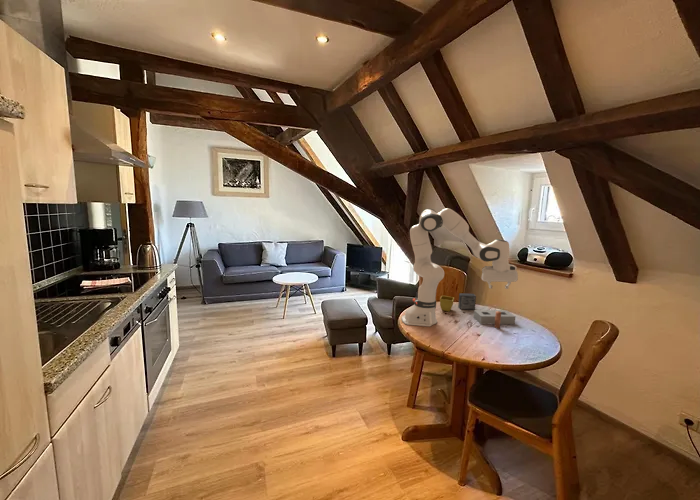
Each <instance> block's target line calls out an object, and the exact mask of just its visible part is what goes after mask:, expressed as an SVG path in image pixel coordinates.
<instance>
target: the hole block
mask: <svg viewBox="0 0 700 500" xmlns="http://www.w3.org/2000/svg"><path fill="white" fill-rule="evenodd" d="M496 311H499V312H501V320H500V325H515V324H516V316H515V315H514V314H512V313H511V312H510V311H509V310H507V309H506V310H502V309H501V310H492V309H491V310H490V309H487V310H485V309H484V310H483V309H482V310H481V309H475V310H473V318H474V320H476V321H477V323H479V324H480V325H495V315H496Z"/></svg>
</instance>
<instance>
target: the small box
mask: <svg viewBox="0 0 700 500" xmlns="http://www.w3.org/2000/svg"><path fill="white" fill-rule="evenodd" d="M458 294H459V295H458V308H459V310H466V311H474V310H476V300H477V296H476V294H475V293H461V292H460V293H458Z"/></svg>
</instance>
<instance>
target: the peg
mask: <svg viewBox="0 0 700 500" xmlns="http://www.w3.org/2000/svg"><path fill="white" fill-rule="evenodd" d="M500 320H501V312H499V311H496V315H495V324H494V328H495V329H500V328H501V324H500Z"/></svg>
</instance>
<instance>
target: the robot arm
mask: <svg viewBox="0 0 700 500" xmlns="http://www.w3.org/2000/svg"><path fill="white" fill-rule="evenodd" d="M441 227H443V228H444V229H446V231H448V233H450V234H451V235H453V236H454V237H455V238H456V239H457V238H458V239H460V240H461V241H463V243H464V244H466V245H467V247H469V249H470V251H471V253H472V255H473V256H474V257H475V258H476V259H479V260H481V261H483V262H488V263H489V262H491V265H488V266H487V265H485V266H484V267H482V269H481V278H480V279H481V280H482V281H483V282H487V284H488V288H489V289H490V290H491V289H493V287H494V286H493V285H492V282H495V283H496V282H507V284H505V285H504V289H506V290H507V289H508V290H509V289H510V288H509V287H510V286H511V284H512V282H518V280H519V272H518V267H517V266H516V265H514V264H512V263H510V261H509V256H510V243H509V242H508V241H507V240H504V239H499V238H497V239H494V240H493V241H492V242H490V243H487V244H486V243H484V242H482V241H480V240H478V239H477V238H476V237H474V236H473V234H471V232H470V226H469V224H468V223H467V221H466V220H465V219H464V218H463V216H461V215H460V214H459V213H457V212H456V211H455V210H453V209H451V208H448V207H447V208H443V209H441V211H439V212H437V211H436V210H435V209H432V208H425V209H424V210H422V211H421V213H420V215H419V217H418V221H417V224H415V225H413V226H411V227H410V229H409V238H410V242H411V246H412V250H413V253H414V263H413V267H412V269H413V271H414V272H415V274H417V276H419V277H421V278H422V282H421V284H420V285H419V286H418V289H417V290H418V291H417V299H416V298H412V302H413V303H414V304H413V305H411V306H410V307H408V308H407V309H406V310H405V314H404V315H401V322H402V324H404V325H406V326H407V325H408V326H416V327H417V326H418V327H419V326H420V327H431V326H433V325H435V324H437V322H438V320H437V314H436V313H437V312H436V309H437V300H436V299H437V298H436V297H437V288H438V285H439V283H440V282H441V281H442V280H443V279H444V277H445V271H444V269H443V267H441V266H440V265H439V264H436V263H435V262H433V261H432V259H431V255H432V254H433V247H432V244H431V240H430V236H429V232H434V231H436V230H437V229H440V228H441Z"/></svg>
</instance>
